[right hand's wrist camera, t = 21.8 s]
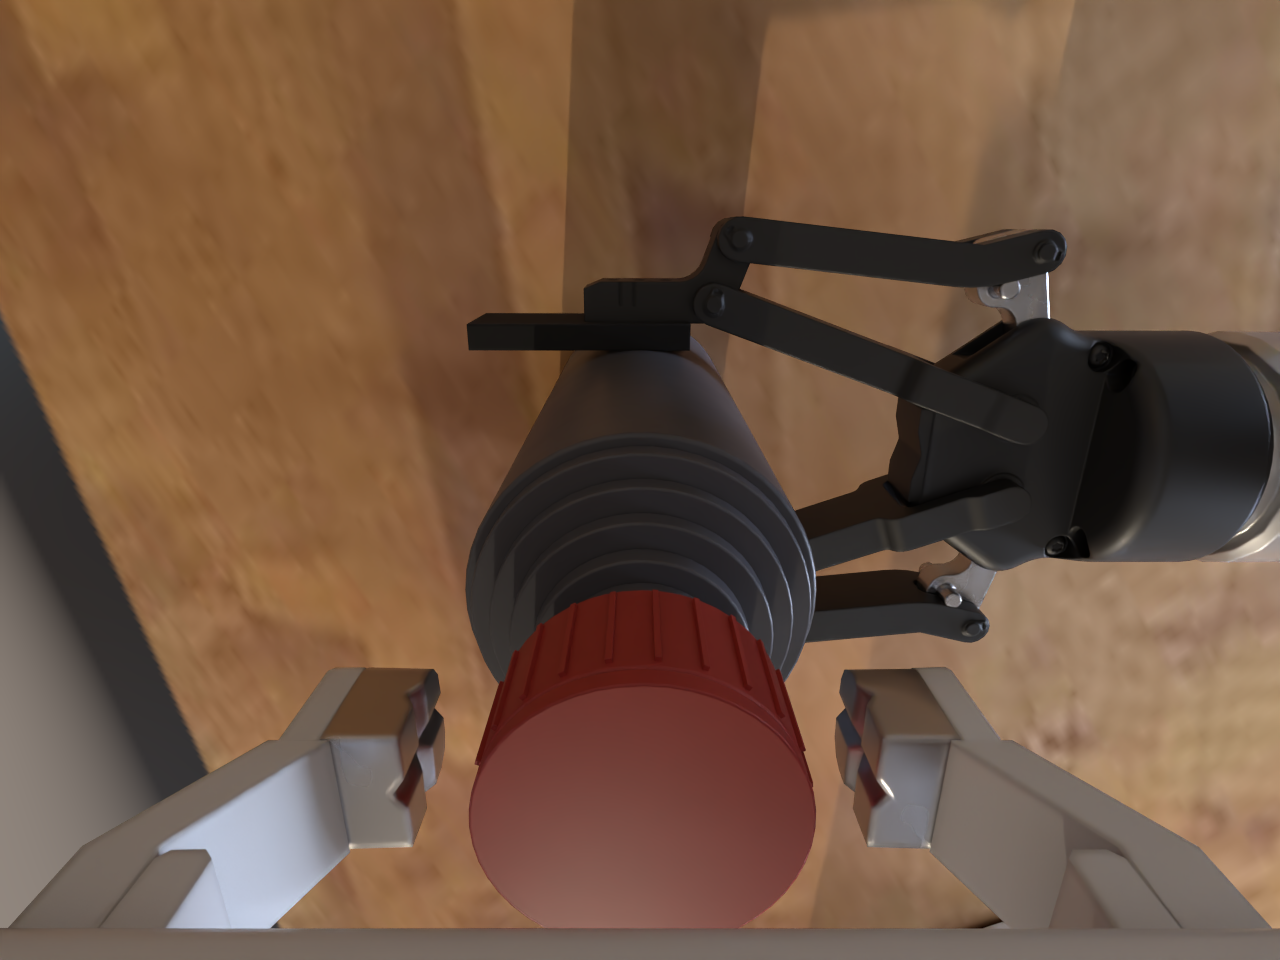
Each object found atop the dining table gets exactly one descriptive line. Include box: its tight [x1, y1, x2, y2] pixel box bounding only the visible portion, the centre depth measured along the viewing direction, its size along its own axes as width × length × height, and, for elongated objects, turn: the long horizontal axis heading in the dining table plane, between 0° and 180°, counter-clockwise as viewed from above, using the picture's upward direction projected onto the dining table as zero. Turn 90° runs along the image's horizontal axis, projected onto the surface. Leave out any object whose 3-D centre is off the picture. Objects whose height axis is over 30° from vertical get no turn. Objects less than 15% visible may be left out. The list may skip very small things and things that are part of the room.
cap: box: [469, 590, 816, 928], centre depth 9 cm, size 4×4×2 cm
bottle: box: [465, 336, 817, 683], centre depth 19 cm, size 7×7×21 cm
